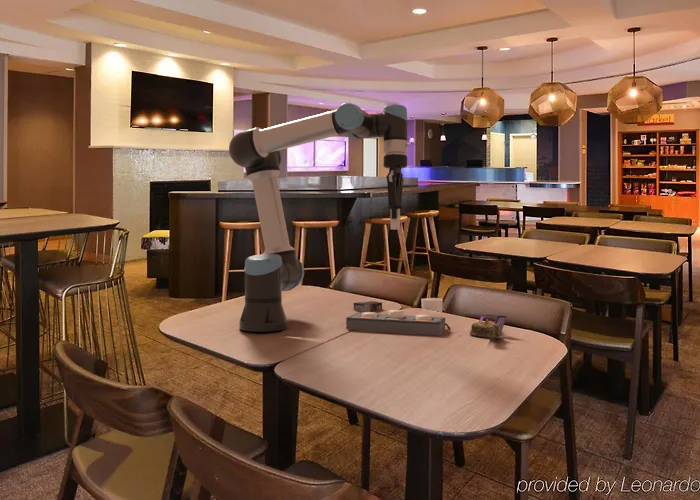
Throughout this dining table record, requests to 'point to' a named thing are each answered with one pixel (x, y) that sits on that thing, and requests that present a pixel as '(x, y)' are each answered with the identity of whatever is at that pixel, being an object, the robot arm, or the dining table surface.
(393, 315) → the button middle
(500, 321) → the purple toy box
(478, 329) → the beige textured round piece
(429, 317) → the button right
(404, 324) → the console
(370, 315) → the button left
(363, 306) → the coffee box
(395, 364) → the dining table surface
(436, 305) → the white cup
